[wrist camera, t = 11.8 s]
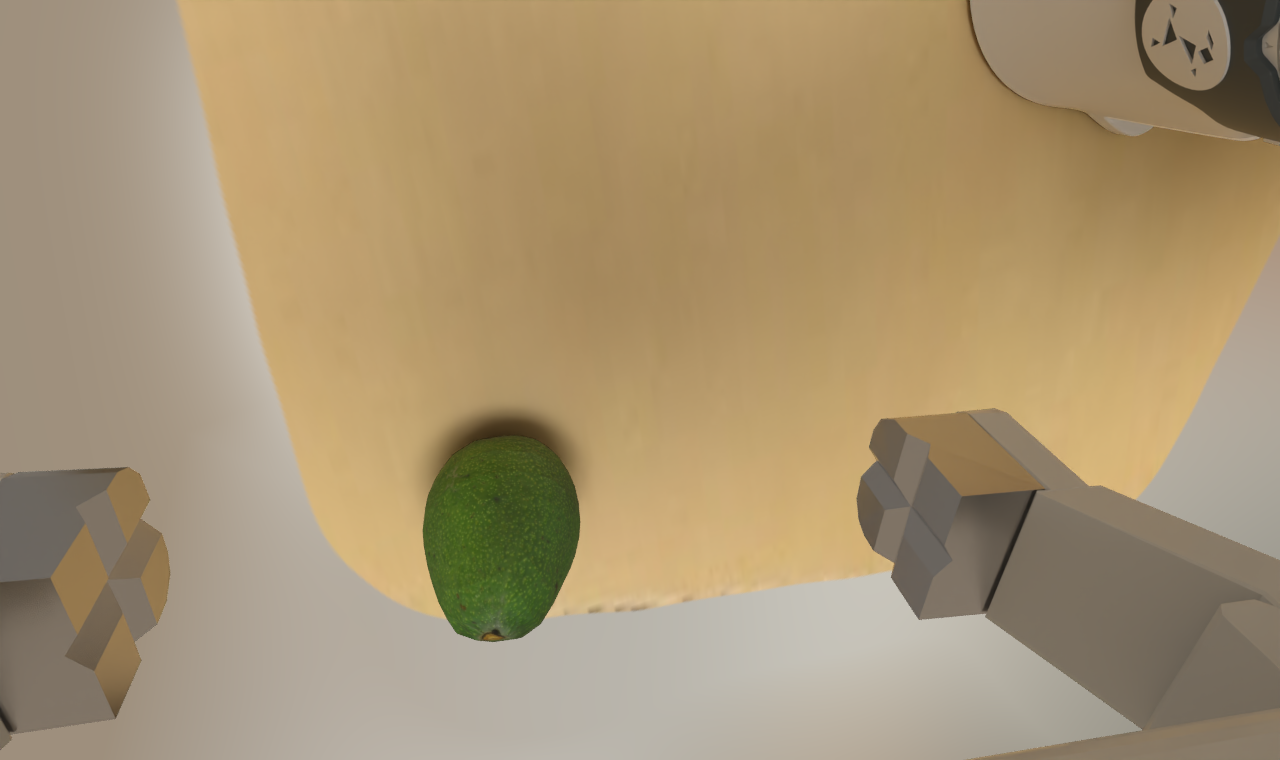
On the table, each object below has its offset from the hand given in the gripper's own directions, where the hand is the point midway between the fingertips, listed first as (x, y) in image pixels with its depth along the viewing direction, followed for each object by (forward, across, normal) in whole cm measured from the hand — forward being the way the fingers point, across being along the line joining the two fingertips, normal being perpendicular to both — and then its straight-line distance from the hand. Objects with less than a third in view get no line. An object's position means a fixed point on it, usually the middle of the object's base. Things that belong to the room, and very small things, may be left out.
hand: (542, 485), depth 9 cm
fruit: (+28, 0, +21) cm, 35 cm away
